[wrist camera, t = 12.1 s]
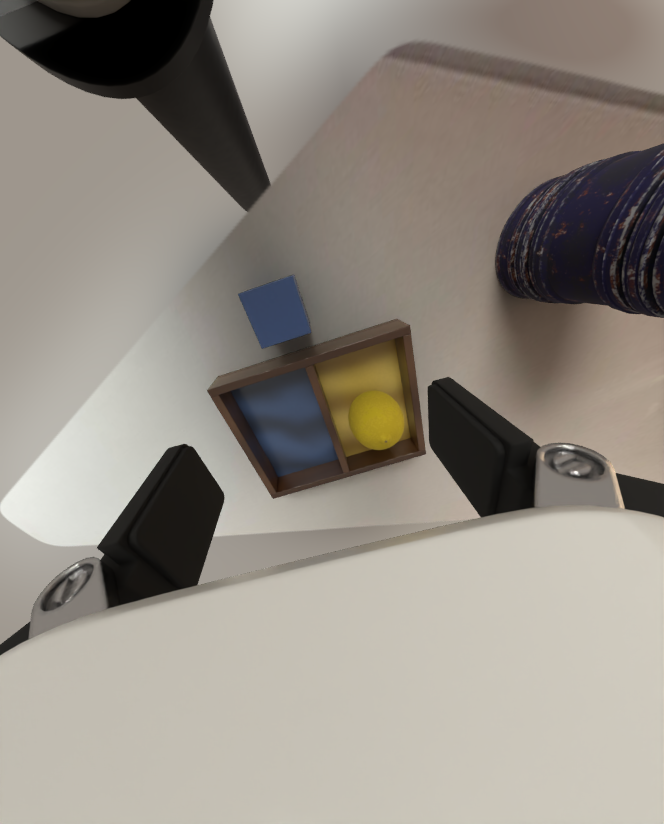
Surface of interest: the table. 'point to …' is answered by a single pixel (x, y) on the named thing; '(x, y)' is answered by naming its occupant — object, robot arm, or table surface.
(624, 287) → the storage jar
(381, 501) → the table surface
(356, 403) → the lemon
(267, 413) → the sorting tray
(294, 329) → the blue block
